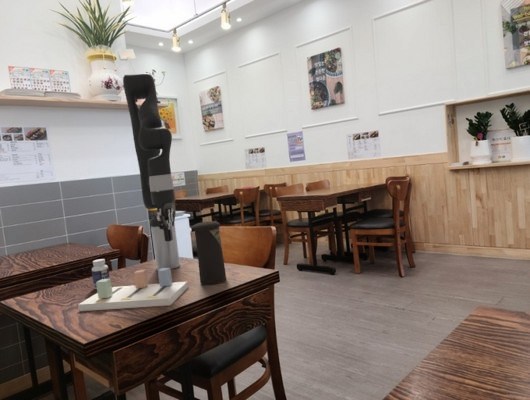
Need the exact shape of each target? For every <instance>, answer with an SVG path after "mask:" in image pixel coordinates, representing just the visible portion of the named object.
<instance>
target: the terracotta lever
mask: <svg viewBox="0 0 530 400" xmlns="http://www.w3.org/2000/svg"><path fill="white" fill-rule="evenodd" d="M147 270H148V269H138V270H136V271H134V272H133V278H134V285H135V287H136V288H145V287H146V286H148V285H149V278H148V271H147Z"/></svg>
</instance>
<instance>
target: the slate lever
mask: <svg viewBox="0 0 530 400" xmlns="http://www.w3.org/2000/svg"><path fill="white" fill-rule="evenodd" d="M171 270H172V269H170V268H161V269H160V270H157V276H158V282H159V283H158V284H160V286H169V285H171V284H172V283H173V278H172V277H173V276H172V271H171Z"/></svg>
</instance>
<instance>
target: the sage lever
mask: <svg viewBox="0 0 530 400" xmlns="http://www.w3.org/2000/svg"><path fill="white" fill-rule="evenodd" d="M96 285H97V289H96V291H97V292H96V293H98V298H99V299H100V298H109V297H110V296H112V295H113V292H112V287H113V286H112V280H111V278H110V279H101V280H99V281H98V282H96Z"/></svg>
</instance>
